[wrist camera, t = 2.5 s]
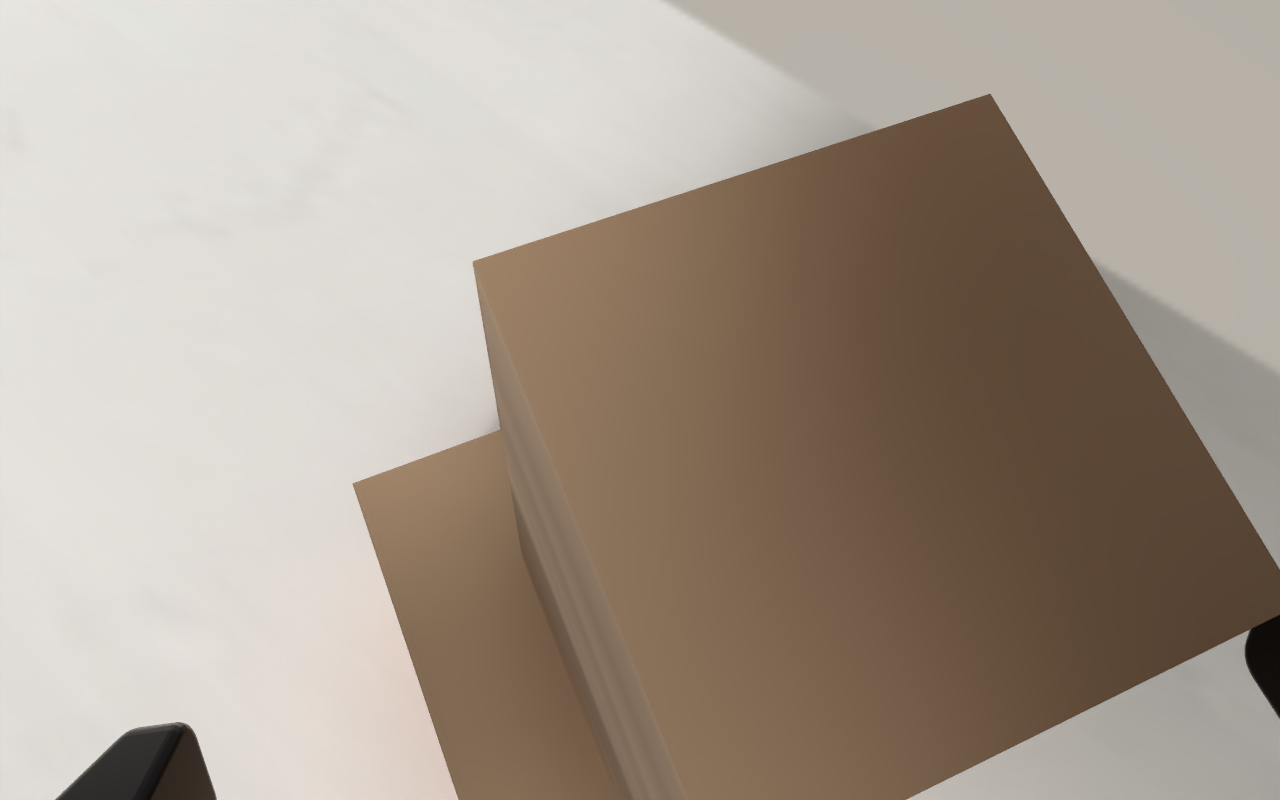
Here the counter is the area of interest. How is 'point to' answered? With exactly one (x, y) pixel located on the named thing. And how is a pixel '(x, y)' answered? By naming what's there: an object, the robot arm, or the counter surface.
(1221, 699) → the counter surface
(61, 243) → the counter surface
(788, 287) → the lid
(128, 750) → the robot arm
